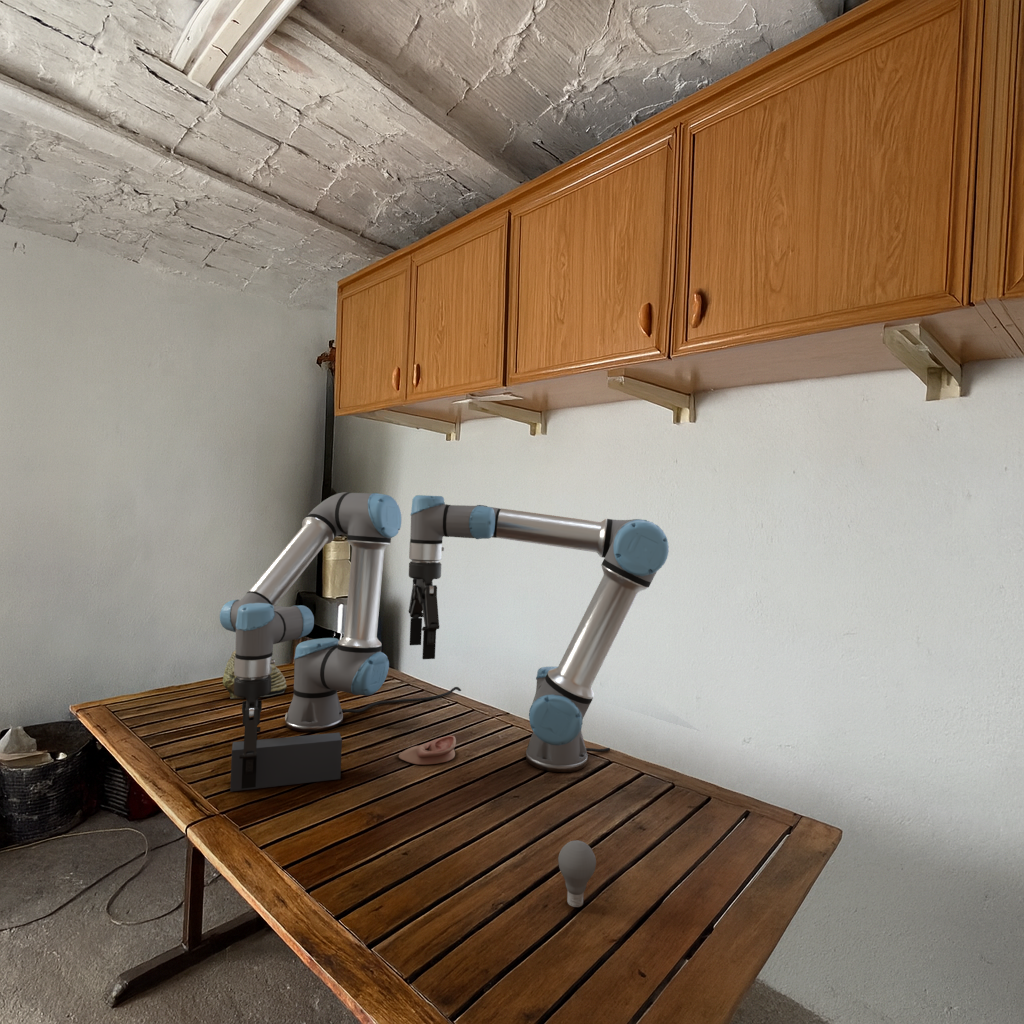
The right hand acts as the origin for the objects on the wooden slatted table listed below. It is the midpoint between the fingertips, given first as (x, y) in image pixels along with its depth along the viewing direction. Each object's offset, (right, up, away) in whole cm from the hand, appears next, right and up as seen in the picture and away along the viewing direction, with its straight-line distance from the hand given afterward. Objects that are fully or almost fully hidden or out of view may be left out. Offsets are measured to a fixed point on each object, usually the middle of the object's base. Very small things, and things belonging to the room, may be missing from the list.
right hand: (421, 651), depth 148 cm
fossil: (-59, -25, +50) cm, 81 cm away
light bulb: (+31, -30, -47) cm, 64 cm away
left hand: (-36, -24, -11) cm, 45 cm away
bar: (-29, -27, -8) cm, 40 cm away
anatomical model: (0, -28, +8) cm, 29 cm away
